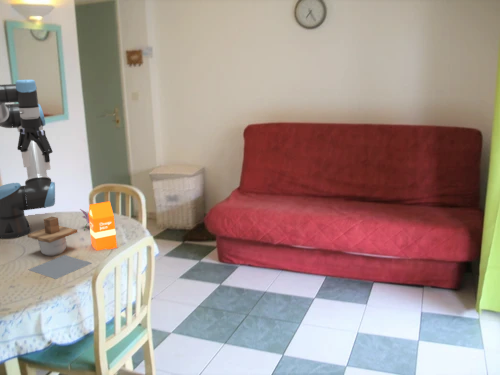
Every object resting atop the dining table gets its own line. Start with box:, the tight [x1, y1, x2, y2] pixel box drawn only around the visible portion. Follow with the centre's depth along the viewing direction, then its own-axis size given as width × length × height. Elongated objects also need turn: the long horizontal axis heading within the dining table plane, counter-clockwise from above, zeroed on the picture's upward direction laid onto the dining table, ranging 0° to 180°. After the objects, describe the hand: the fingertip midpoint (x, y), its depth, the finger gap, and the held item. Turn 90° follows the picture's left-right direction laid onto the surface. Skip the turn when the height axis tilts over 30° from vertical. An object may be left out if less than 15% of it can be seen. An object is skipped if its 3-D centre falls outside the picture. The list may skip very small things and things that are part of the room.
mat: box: [27, 254, 93, 280], centre depth 197 cm, size 17×17×1 cm
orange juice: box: [88, 200, 118, 251], centre depth 215 cm, size 8×9×20 cm
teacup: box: [37, 237, 67, 257], centre depth 212 cm, size 14×11×8 cm
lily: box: [79, 208, 89, 232], centre depth 241 cm, size 12×12×10 cm
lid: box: [26, 216, 78, 243], centre depth 210 cm, size 14×14×7 cm
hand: (37, 168), depth 213 cm, fingers open, 13 cm apart
